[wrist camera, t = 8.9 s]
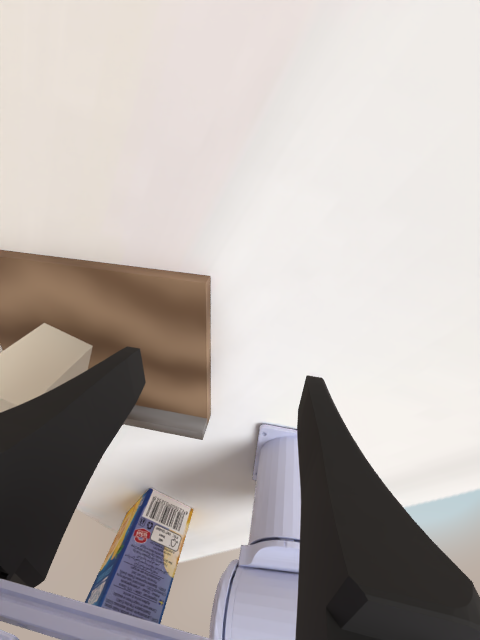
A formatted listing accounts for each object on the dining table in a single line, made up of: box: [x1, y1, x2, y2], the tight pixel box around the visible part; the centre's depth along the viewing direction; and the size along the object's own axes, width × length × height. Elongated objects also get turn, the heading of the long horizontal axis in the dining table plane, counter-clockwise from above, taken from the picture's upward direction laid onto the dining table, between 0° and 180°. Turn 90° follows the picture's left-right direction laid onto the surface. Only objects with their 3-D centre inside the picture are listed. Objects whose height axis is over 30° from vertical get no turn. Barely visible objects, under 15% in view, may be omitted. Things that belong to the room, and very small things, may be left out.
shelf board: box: [0, 250, 211, 440], centre depth 24 cm, size 15×20×3 cm
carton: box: [0, 323, 93, 413], centre depth 22 cm, size 5×4×7 cm
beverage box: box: [85, 488, 193, 624], centre depth 32 cm, size 7×11×22 cm, turn 149°
